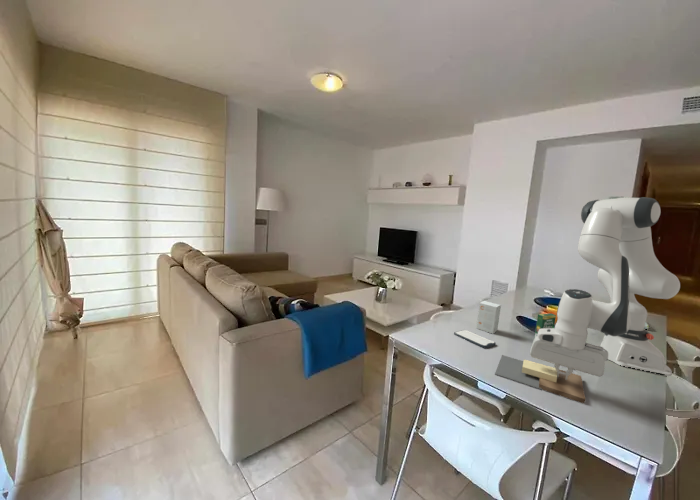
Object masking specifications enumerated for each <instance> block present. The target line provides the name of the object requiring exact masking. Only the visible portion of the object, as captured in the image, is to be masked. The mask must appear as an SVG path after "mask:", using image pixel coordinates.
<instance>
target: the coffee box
mask: <svg viewBox="0 0 700 500" xmlns="http://www.w3.org/2000/svg"><path fill="white" fill-rule="evenodd" d="M556 317H557V314H554V313H552V312H551V313H540V314H539V313H538V314H537V317H536V324H535V331H534V337H533V339H534V338H535V337H536V336H538V331H539V329H542V328H555V324H556V319H557V318H556Z"/></svg>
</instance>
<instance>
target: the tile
mask: <svg viewBox="0 0 700 500" xmlns="http://www.w3.org/2000/svg"><path fill="white" fill-rule="evenodd" d="M522 361H523V367H522V373H526V374H529V375H533V376H536V377H539V378H543V379H546V380H549V381H553V382H556V381H557V371H556V369H555V367H553V366H550V365H545V364H542V363H538V362H534V361H532V360H527V359H523V360H522Z"/></svg>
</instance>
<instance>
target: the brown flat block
mask: <svg viewBox="0 0 700 500" xmlns="http://www.w3.org/2000/svg"><path fill="white" fill-rule="evenodd" d="M559 371H561V372H564V373H565V372H567V371H566V370H562V369H559ZM539 388H542V390H541V391H545V392H548V393H551V394H553V395H554V394H555V395H557V396H559V397H563V398H566V399H569V400H572V401H575V402H578V403H580V404H585V403H586V396H585V389H584V385H583V379H582V375H579V374H576V373H574V372H573V373H571V374H570V375H569V376H568V378H567V380H565V379H562V378H558V377H557V381H556V382H553V381H549V380H546V379H543V378H540V379H539Z"/></svg>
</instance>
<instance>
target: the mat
mask: <svg viewBox="0 0 700 500" xmlns="http://www.w3.org/2000/svg"><path fill="white" fill-rule="evenodd" d="M500 356H501V357H500V360H499V362H498V365H497V368H496V370H495V372H494V375H495V376H498V377H500V378H504V379H507V380H510V381H513V382H515V383H518V384H519V383H520V384H521V385H525V386H527V387H531V388H533V389H537V390H539V391H540V390H541V391H543V390H542V388H539V379H540V378H539V377H536V376H533V375H529V374H526V373H522V367H523V361H524V360H520V359H517V358H514V357H511V356H507V355H504V354H502V355H500Z"/></svg>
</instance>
